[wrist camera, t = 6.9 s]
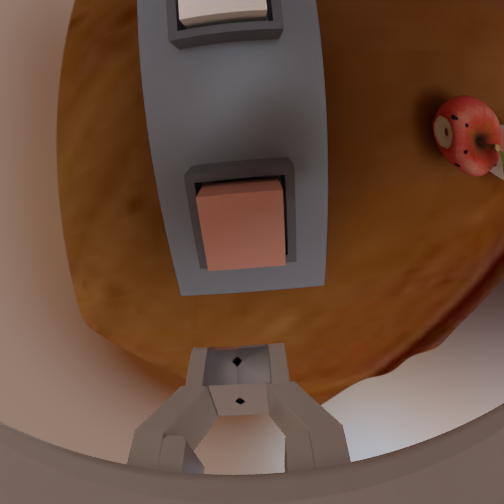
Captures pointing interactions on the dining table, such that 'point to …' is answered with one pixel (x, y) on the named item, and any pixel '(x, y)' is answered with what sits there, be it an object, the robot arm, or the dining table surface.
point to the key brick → (242, 224)
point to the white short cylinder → (499, 161)
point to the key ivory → (220, 12)
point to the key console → (238, 132)
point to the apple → (468, 135)
